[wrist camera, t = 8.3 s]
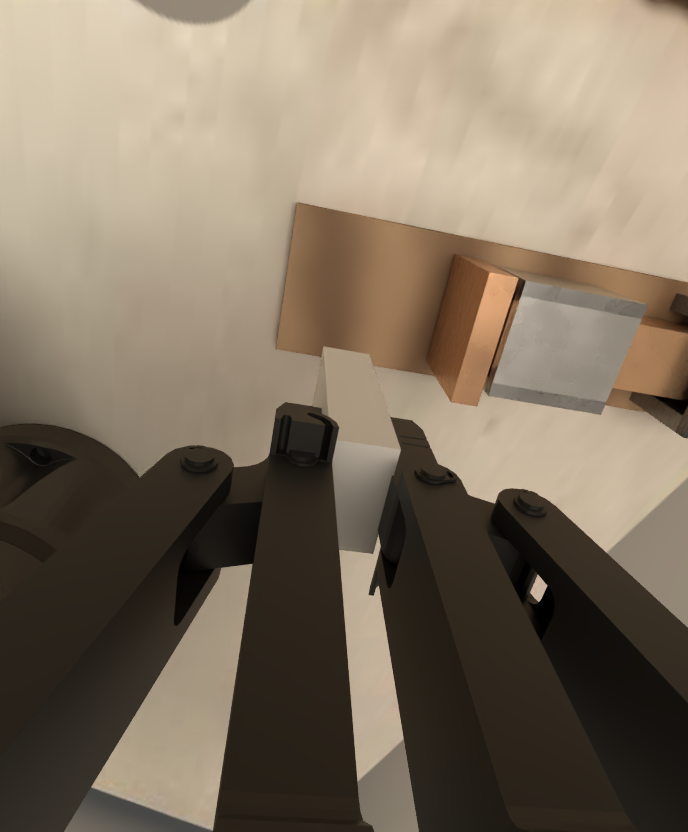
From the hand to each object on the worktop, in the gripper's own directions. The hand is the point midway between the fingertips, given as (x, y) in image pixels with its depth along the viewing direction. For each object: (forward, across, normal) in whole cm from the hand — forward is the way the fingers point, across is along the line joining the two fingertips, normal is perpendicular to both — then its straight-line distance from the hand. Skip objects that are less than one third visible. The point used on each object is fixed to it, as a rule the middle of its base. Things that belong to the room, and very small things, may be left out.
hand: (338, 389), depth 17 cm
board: (+18, +14, 0) cm, 23 cm away
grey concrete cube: (+17, +13, 0) cm, 22 cm away
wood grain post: (+17, +17, 0) cm, 24 cm away
